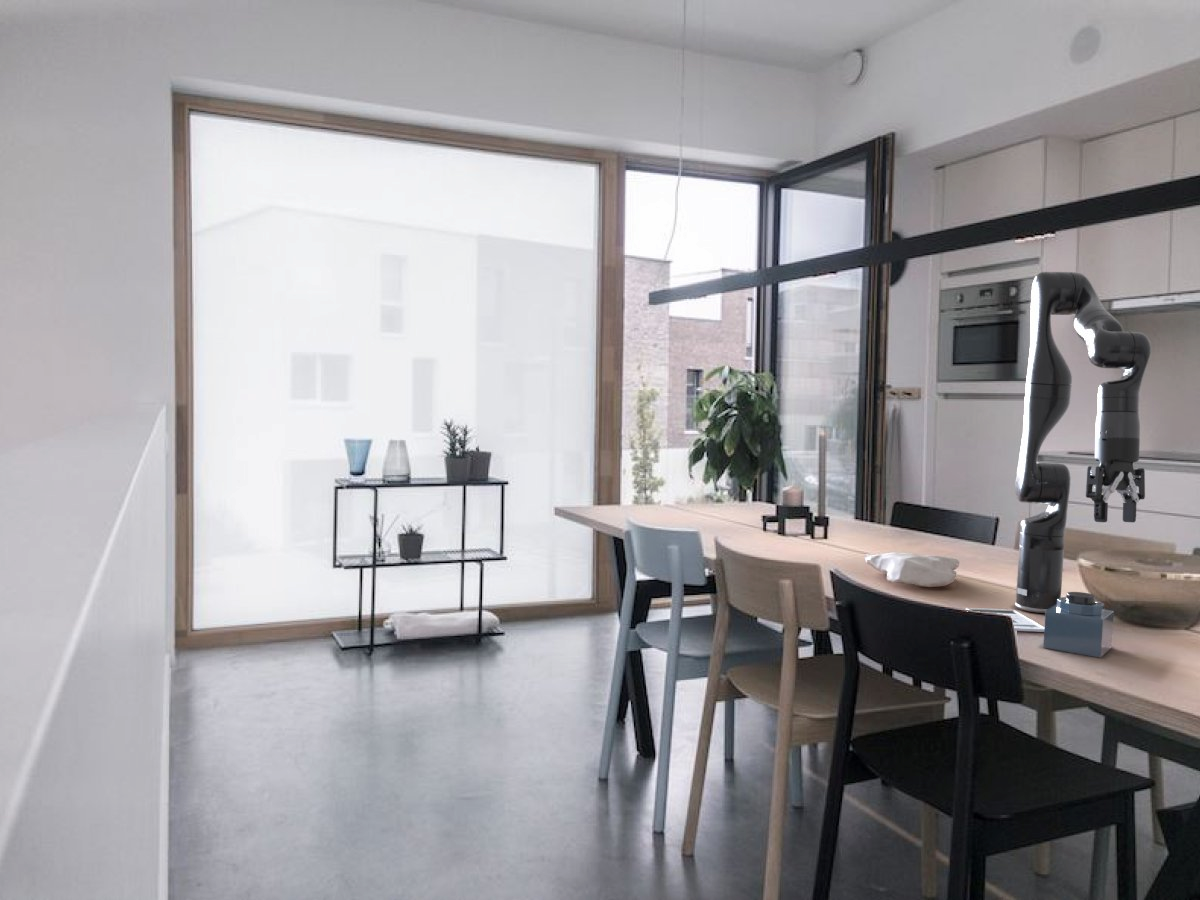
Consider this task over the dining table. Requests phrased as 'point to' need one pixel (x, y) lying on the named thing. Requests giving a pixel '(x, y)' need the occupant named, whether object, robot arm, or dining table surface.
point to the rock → (915, 568)
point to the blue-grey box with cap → (1078, 628)
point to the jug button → (1080, 598)
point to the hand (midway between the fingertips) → (1114, 522)
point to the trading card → (1015, 619)
